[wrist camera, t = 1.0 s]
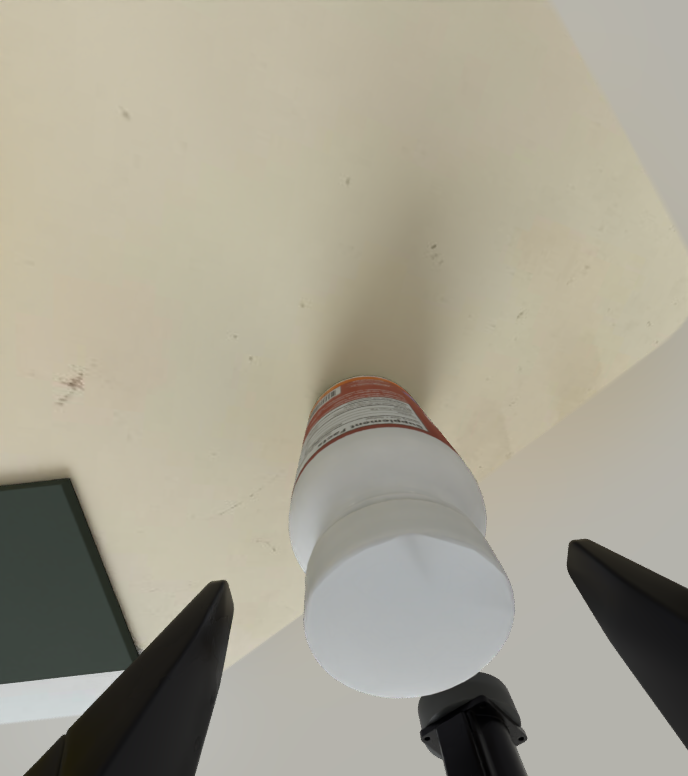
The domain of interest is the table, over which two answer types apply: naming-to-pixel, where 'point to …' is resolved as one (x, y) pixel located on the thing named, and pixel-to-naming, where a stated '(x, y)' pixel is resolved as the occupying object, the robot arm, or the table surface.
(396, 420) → the pill bottle
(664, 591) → the robot arm
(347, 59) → the table surface
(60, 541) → the mat
